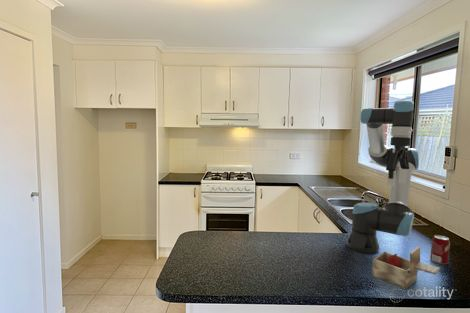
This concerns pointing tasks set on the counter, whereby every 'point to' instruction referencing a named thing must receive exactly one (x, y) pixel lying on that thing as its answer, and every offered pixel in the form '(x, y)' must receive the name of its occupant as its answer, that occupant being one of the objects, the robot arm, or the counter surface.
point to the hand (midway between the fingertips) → (396, 184)
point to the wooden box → (394, 271)
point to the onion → (394, 261)
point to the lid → (420, 266)
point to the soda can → (440, 249)
